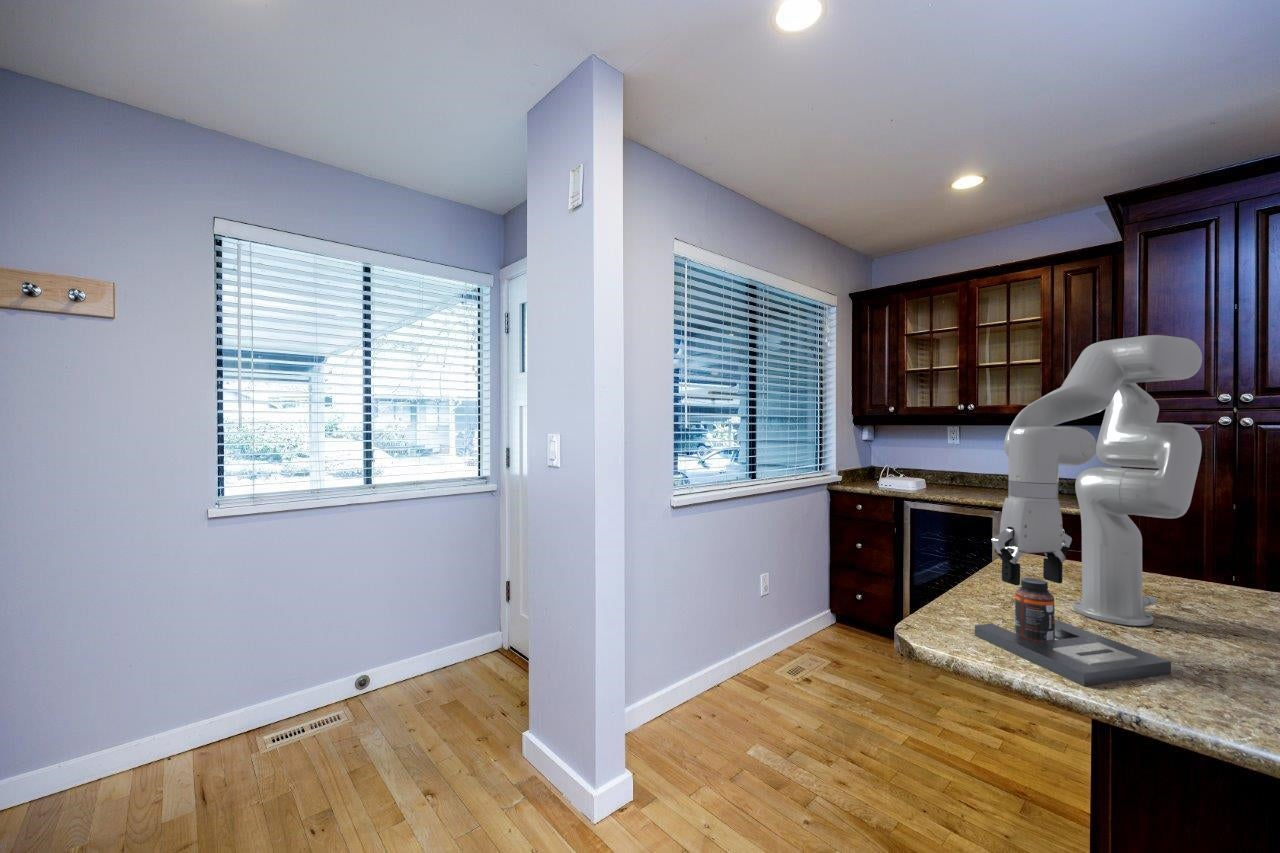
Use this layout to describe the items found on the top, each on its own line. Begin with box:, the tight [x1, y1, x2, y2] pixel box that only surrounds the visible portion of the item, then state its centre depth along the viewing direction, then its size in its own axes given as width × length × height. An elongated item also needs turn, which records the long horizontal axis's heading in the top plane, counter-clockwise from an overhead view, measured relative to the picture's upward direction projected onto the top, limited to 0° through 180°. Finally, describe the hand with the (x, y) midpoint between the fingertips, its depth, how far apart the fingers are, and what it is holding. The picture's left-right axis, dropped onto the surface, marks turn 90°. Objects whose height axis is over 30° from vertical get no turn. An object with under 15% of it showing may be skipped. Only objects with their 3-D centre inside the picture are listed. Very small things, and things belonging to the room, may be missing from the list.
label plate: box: [974, 619, 1172, 687], centre depth 92 cm, size 18×20×2 cm
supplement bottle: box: [1014, 577, 1055, 642], centre depth 97 cm, size 6×6×11 cm
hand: (1031, 582), depth 97 cm, fingers open, 9 cm apart
